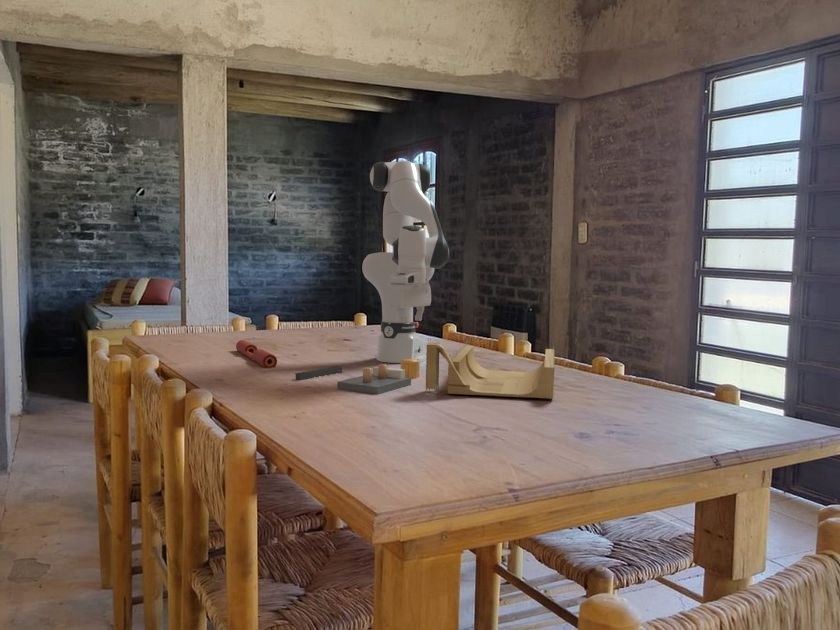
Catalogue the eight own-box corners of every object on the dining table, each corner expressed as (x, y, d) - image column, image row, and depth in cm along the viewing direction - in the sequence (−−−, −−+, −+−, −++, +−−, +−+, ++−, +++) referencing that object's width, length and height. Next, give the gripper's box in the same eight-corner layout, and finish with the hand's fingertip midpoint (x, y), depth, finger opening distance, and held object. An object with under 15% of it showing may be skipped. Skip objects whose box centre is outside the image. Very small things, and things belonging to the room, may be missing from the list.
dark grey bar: (300, 371, 225) (290, 370, 227) (300, 380, 225) (290, 379, 227) (342, 365, 240) (332, 364, 242) (342, 373, 240) (332, 372, 242)
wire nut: (406, 375, 238) (407, 358, 238) (422, 377, 236) (422, 359, 235) (397, 377, 233) (397, 360, 233) (412, 379, 231) (413, 362, 230)
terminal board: (372, 379, 228) (372, 360, 228) (410, 384, 222) (411, 364, 221) (337, 388, 213) (337, 368, 212) (377, 394, 206) (378, 372, 205)
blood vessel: (235, 353, 283) (235, 340, 283) (248, 352, 285) (248, 339, 285) (262, 369, 246) (262, 354, 245) (277, 368, 248) (277, 354, 247)
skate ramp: (553, 402, 202) (555, 343, 200) (425, 395, 208) (426, 338, 207) (553, 378, 241) (555, 329, 240) (445, 373, 247) (447, 325, 246)
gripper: (419, 276, 242) (418, 318, 243) (385, 277, 225) (385, 322, 226) (436, 277, 239) (435, 320, 240) (403, 278, 221) (402, 324, 222)
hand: (410, 321), depth 233 cm, fingers open, 8 cm apart
